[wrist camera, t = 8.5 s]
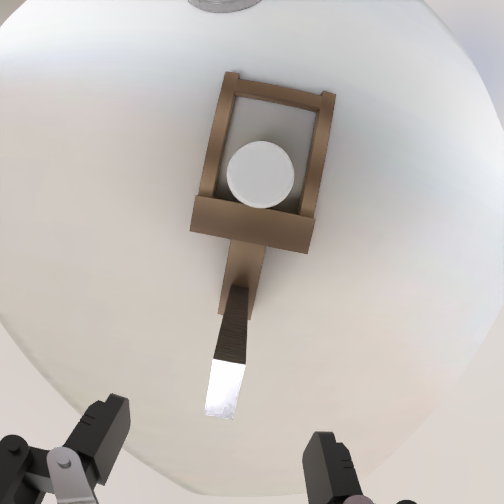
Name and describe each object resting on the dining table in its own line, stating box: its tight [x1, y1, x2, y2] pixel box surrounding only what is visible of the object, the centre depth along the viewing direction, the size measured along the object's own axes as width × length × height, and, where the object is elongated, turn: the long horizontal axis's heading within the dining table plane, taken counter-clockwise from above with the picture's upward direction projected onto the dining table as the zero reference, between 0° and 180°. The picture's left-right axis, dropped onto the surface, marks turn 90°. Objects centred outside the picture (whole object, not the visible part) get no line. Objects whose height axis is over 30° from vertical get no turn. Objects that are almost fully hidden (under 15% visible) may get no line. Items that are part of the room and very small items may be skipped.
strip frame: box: [190, 72, 336, 419], centre depth 19 cm, size 23×10×14 cm, turn 169°
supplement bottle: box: [227, 141, 294, 208], centre depth 21 cm, size 5×5×8 cm
